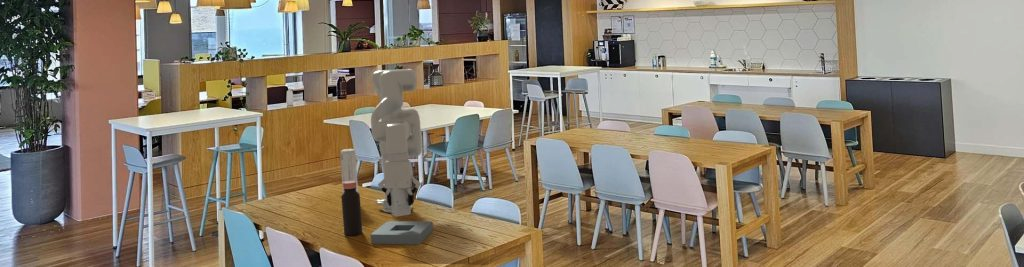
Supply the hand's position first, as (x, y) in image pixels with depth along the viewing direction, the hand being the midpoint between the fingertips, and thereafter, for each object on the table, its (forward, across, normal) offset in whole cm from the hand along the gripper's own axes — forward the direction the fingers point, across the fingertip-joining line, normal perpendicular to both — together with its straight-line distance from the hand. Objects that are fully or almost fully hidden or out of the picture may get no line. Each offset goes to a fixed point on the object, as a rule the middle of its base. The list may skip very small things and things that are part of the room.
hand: (400, 204), depth 283 cm
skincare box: (+4, 0, 0) cm, 4 cm away
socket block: (+12, 0, 0) cm, 12 cm away
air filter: (+12, -39, +47) cm, 62 cm away
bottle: (+12, -21, +4) cm, 25 cm away
